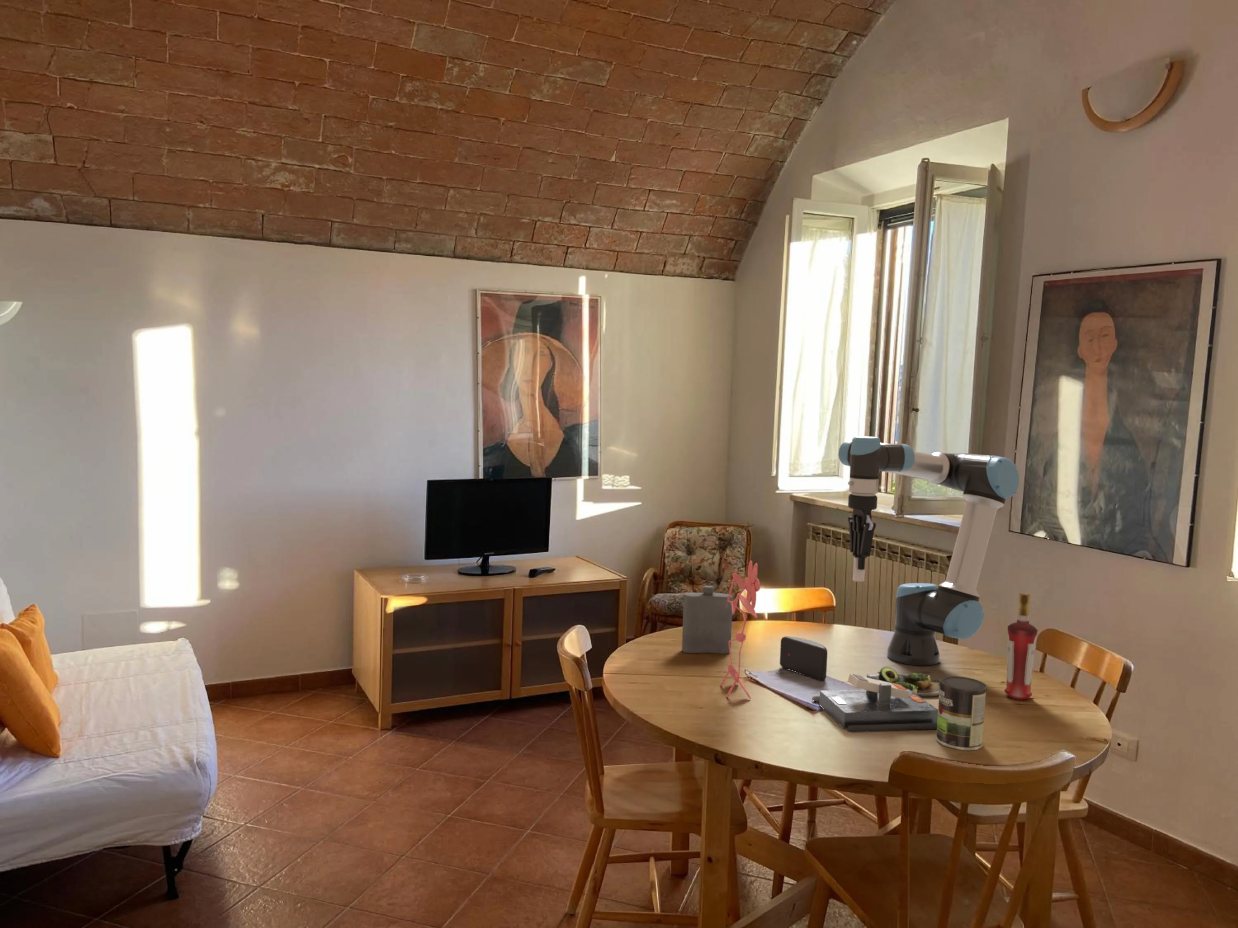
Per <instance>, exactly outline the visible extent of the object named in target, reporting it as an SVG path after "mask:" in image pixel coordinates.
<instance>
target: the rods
mask: <svg viewBox="0 0 1238 928" xmlns="http://www.w3.org/2000/svg"><path fill="white" fill-rule="evenodd" d="M811 700H812V701H813V700H814V701H818V702H817V703H819V701H820V695H817V696H812V698H811ZM814 701H813V702H814ZM847 730H848V732H872V731H874V732H877V731H881V732H882V731H910V730H911V731H913V730H914V731H917V730H937V723H915V724H878V725H849V726H848V729H847Z"/></svg>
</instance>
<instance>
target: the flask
mask: <svg viewBox="0 0 1238 928" xmlns="http://www.w3.org/2000/svg"><path fill="white" fill-rule="evenodd" d="M728 595H729V593H720V592H719V593H718V592H715V587H714V586H712V585H704V586H702V592H687V593H684V594H683V609H682V613H683V615H682V639H681V651H682V652H683V653H685V654H718V653H720V654H721V655H722V654H723V655H726V654H727V653H728V654H730V652H729V644H728V641H730V640H732V629H733V628H732V627H733V626H732V625H733V624H732V622H733V615H732V606H731V603H729V602H727V599H728ZM729 600H730V601H732V602H733V601H734V598H733V595H732V594H731V595H730V599H729ZM731 647H732V641H731V642H730V649H732V648H731ZM720 654H719V655H720Z"/></svg>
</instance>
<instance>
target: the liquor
mask: <svg viewBox="0 0 1238 928" xmlns="http://www.w3.org/2000/svg"><path fill="white" fill-rule="evenodd" d="M1018 595H1019V596H1018V605H1019V607H1018V612H1017V618H1016V621H1015V622H1012V623H1011V624H1009V625H1008V626H1007V635H1006V636H1007V639H1006V640H1007V641H1006V642H1007V643H1006V644H1007V645H1006V647H1007V648H1006V649H1007V650H1006V654H1007V655H1006V656H1007V657H1006V658H1007V659H1006V660H1007V661H1006V663H1007V664H1006V685H1005V689H1004V690H1003V691H1004V693H1005V694H1006V695H1007V696H1008V697H1009V698H1010V699H1013V700H1018V701H1026V700H1028V699H1029V698H1031V697H1032V696H1033V694H1032V691H1031V689H1032V678H1033V671H1034V670H1033V669H1034V664H1035V663H1034V661H1035V655H1036V649H1037V648H1036V647H1037V637H1038V632H1039V631H1038V629H1037V628H1036V627H1035V626H1034V625H1033V624H1031V623H1030V613H1029V611H1030V607H1029V605H1030V602H1031V594H1029V593H1024V592H1022V593H1019V594H1018Z"/></svg>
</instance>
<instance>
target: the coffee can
mask: <svg viewBox="0 0 1238 928" xmlns="http://www.w3.org/2000/svg"><path fill="white" fill-rule="evenodd" d="M938 680H939V683H940V685H939V686H940V690H939V695H938V707H937V709H938V721H937V729H936V736H935V739H936V740H935V741H936V742H938V743H939V744H940V745H943V746H944V747H947V748H950V749H954V750H958V751H967V752H968V751H969V752H970V751H976V750H979V749H982V748H983V739H984V737H983V736H984V724H985V723H984V722H985V707H986V697H987V695H986V694H987V690H988V686H987V684H986V683H985V682H983V681H980V680H978V679H975V678H971V677H966V676H957V675H948V676H943V677H941V678H940V679H938Z"/></svg>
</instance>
